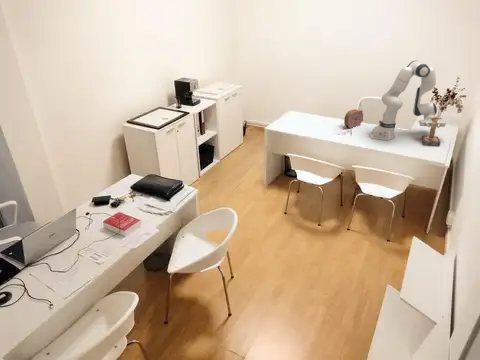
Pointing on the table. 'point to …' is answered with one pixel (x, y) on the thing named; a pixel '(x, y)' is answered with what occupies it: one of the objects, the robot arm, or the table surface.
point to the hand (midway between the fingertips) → (433, 126)
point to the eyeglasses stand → (433, 128)
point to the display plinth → (430, 141)
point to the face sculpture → (353, 118)
